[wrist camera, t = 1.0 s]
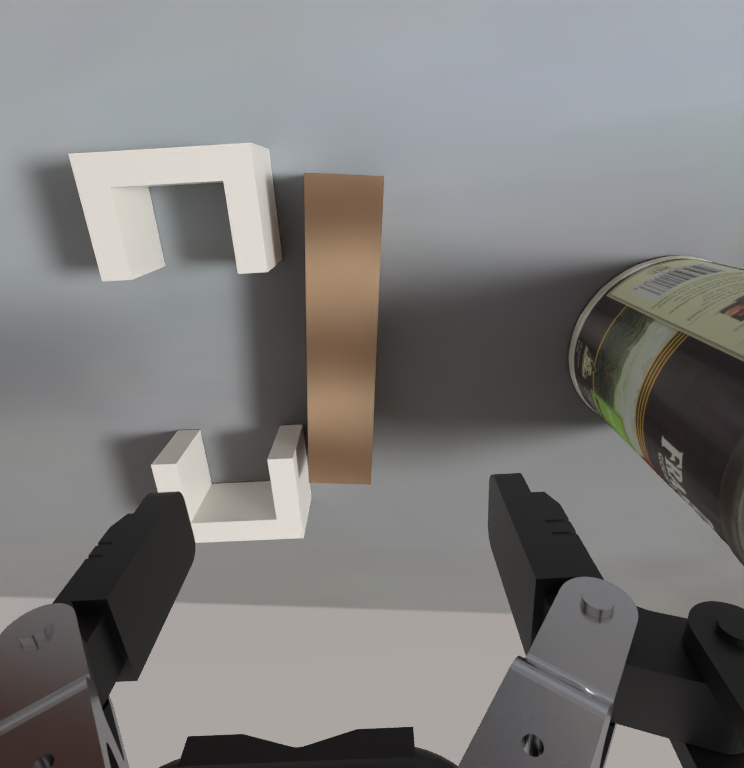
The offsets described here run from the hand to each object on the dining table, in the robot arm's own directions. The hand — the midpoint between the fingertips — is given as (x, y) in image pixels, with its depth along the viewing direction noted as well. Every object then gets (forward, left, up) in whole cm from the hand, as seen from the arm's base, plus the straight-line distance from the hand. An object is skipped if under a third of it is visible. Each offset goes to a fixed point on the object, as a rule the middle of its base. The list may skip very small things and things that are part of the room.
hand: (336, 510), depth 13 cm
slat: (0, -1, -17) cm, 17 cm away
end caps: (+1, -8, -16) cm, 18 cm away
